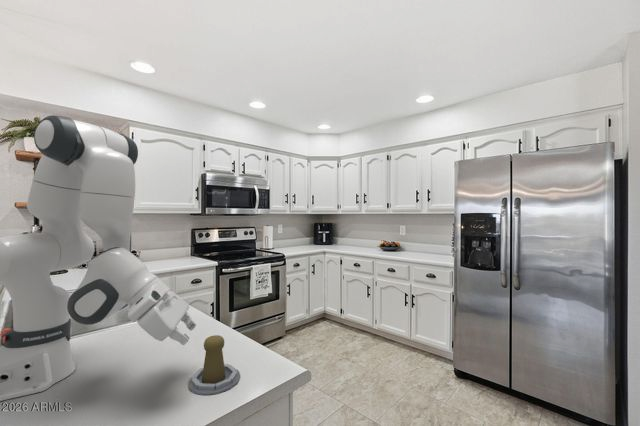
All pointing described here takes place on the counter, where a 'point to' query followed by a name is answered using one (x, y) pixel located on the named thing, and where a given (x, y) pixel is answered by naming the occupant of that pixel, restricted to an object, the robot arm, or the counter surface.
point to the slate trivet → (210, 389)
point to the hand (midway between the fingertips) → (190, 334)
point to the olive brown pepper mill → (213, 360)
